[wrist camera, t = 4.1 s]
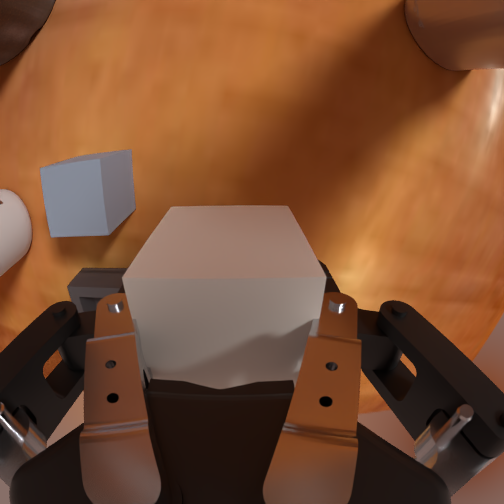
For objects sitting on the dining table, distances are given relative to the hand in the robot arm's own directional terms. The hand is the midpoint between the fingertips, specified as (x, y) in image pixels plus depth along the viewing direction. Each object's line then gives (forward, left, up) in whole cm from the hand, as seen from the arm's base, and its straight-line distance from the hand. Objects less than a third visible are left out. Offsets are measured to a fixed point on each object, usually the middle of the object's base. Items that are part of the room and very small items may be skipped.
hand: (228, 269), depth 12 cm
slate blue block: (+10, -2, -12) cm, 16 cm away
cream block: (0, 0, -1) cm, 1 cm away
